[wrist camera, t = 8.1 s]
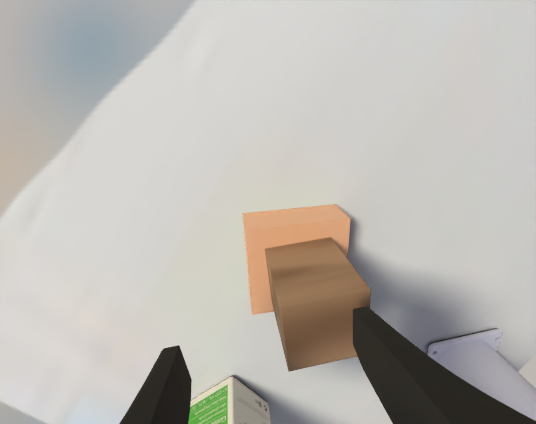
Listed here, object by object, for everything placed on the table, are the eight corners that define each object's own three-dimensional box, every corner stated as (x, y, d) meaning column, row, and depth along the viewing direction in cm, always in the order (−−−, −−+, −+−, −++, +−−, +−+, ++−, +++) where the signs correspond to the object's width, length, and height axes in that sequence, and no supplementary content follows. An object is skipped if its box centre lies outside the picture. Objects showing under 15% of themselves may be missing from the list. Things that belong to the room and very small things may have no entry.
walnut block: (331, 289, 20) (367, 353, 15) (272, 301, 20) (288, 371, 15) (330, 236, 18) (370, 289, 13) (264, 248, 18) (280, 307, 13)
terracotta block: (329, 277, 23) (343, 301, 21) (248, 288, 23) (252, 314, 20) (334, 202, 21) (350, 218, 18) (242, 211, 20) (244, 229, 17)
